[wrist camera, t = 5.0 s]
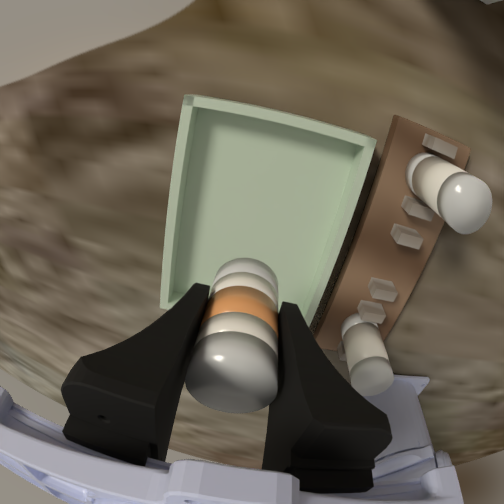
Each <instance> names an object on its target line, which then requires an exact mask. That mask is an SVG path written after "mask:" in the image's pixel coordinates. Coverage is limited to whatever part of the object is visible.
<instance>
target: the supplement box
mask: <svg viewBox="0 0 504 504" xmlns="http://www.w3.org/2000/svg"><path fill="white" fill-rule="evenodd" d="M480 1H482V2H484V3H485V4H490V3H494V2H498V1H503V0H480Z"/></svg>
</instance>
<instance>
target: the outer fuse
mask: <svg viewBox="0 0 504 504" xmlns="http://www.w3.org/2000/svg"><path fill="white" fill-rule="evenodd" d="M405 180H406V184H407V186H408V188H409V189H410V190H411V191H412V192H413V193H414V194H415V195H417V196H418V197H419V198H420V199H421V200H422V201H423V202H425V203H426V204H427V205H428V206H429V207H430V208H431V209H432V210H433V211H435V212H436V213H437V214H438V215H439V216H440V217H441V218H442V219H443V220H444V221H445V222H446V223H448V224H449V225H450V226H451V227H452V228H453V229H454V230H455V231H456V232H458V233H461V234H470V233H473V232H475V231H477V230H478V229H480V228H481V227H482V226H483V225H484V223H485V222H486V221H487V219H488V217H489V215H490V212H491V208H492V195H491V192H490V189H489V187H488V186H487V185H486V183H484V182H483V181H482V180H480V179H478V178H477V177H475V176H473V175H471V174H469V173H468V172H466V171H464V170H462V169H460V168H459V167H457V166H455V165H453V164H451V163H449V162H447V161H445V160H443V159H442V158H440V157H438V156H436V155H434V154H432V153H428V152H422V153H419V154H417V155H415V156H414V157H412V158H411V160H410V161H409V162H408V164H407V167H406V170H405Z"/></svg>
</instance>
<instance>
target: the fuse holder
mask: <svg viewBox="0 0 504 504" xmlns="http://www.w3.org/2000/svg"><path fill="white" fill-rule="evenodd" d="M470 151H471V148H469V147H467V146H465V145H463V144H461V143H459V142H457V141H455V140H453V139H451V138H449V137H446V136H444V135H442V134H440V133H438V132H436V131H433V130H431V129H429V128H426V127H424V126H422V125H420V124H417V123H415V122H412V121H410V120H407V119H405V118H402V117H400V116H396V115H394V116H393V120H392V123H391V127H390V130H389V134H388V137H387V140H386V144H385V147H384V150H383V154H382V157H381V160H380V163H379V166H378V169H377V172H376V176H375V179H374V182H373V185H372V188H371V191H370V193H369V196H368V199H367V202H366V205H365V208H364V211H363V214H362V216H361V219H360V222H359V225H358V227H357V230H356V233H355V235H354V238H353V241H352V243H351V246H350V249H349V251H348V254H347V256H346V259H345V262H344V264H343V267H342V269H341V272H340V274H339V277H338V279H337V281H336V284H335V286H334V289H333V291H332V293H331V296H330V298H329V301H328V303H327V305H326V308H325V310H324V312H323V315H322V317H321V319H320V321H319V324H318V326H317V328H316V330H315V333H314V335H313V336H314V338H315V340H316V342H317V343H318V345H319V346H320V348H321V349H327V350H334V351H338V356H339V360H341V361H347V359H346V354H345V349H344V344H343V339H342V335H341V325H342V323H343V321H344V320H345V319H346V318H347V317H349V316H351V315H353V314H355V313H359V315H360V319H361V320H362V321H368V322H374V323H377V326H378V328H379V331H380V334H381V337H382V340H383V342H384V340H385V338H386V337H387V335H388V333H389V332H390V330H391V328H392V327H393V325H394V323H395V321H396V320H397V318H398V316H399V314H400V312H401V311H402V309H403V307H404V305H405V303H406V301H407V300H408V298H409V296H410V294H411V292H412V290H413V288H414V286H415V284H416V282H417V280H418V278H419V276H420V274H421V272H422V270H423V268H424V266H425V264H426V262H427V260H428V258H429V256H430V254H431V252H432V249H433V247H434V245H435V243H436V240H437V238H438V236H439V234H440V231H441V229H442V227H443V224H444V222H445V221H444V220H443V219H442V218H441V217H440V216H439V215H438V214H437V213H436V212H435V211H433V210H432V209H431V208H430V207H429V206H428V205H427V204H426V203H425V202H423V201H422V200H421V199H420V198H419V197H418V196H417V195H415V194H414V193H413V192H412V191H411V190H410V189H409V188H408V186H407V184H406V180H405V170H406V167H407V164H408V162H409V161H410V160H411V158H412V157H414V156H415V155H417V154H419V153H422V152H428V153H432V154H434V155H436V156H438V157H440V158H442V159H443V160H445V161H447V162H449V163H451V164H453V165H455V166H457V167H459V168H460V169H462V170H464V169H465V166H466V163H467V160H468V157H469V154H470Z"/></svg>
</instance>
